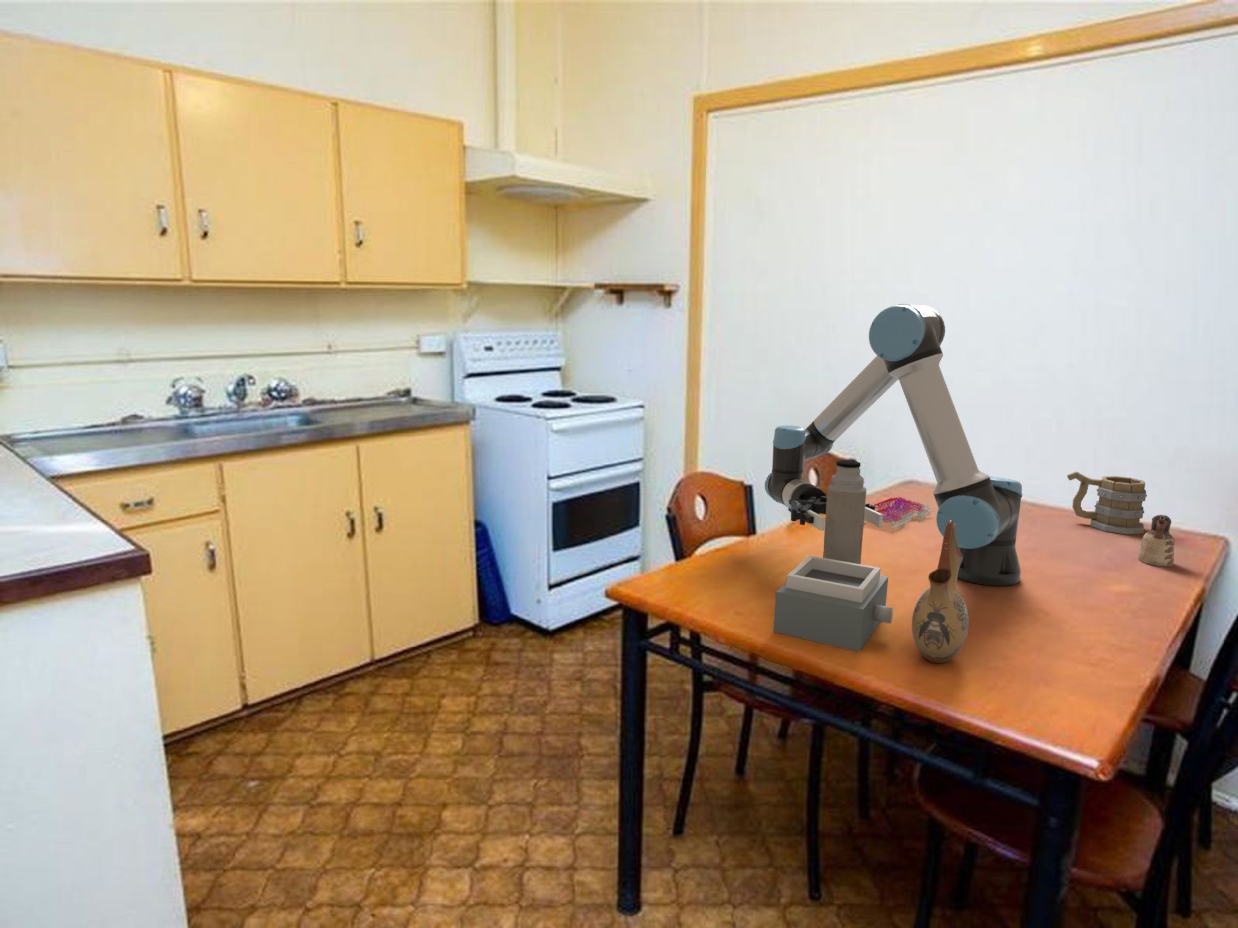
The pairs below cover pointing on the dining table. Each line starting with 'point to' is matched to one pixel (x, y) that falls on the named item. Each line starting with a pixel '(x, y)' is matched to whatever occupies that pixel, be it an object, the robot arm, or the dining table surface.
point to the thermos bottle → (845, 514)
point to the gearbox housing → (832, 603)
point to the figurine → (1158, 543)
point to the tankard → (1113, 503)
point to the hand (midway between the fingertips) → (852, 522)
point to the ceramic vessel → (942, 606)
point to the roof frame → (906, 508)
